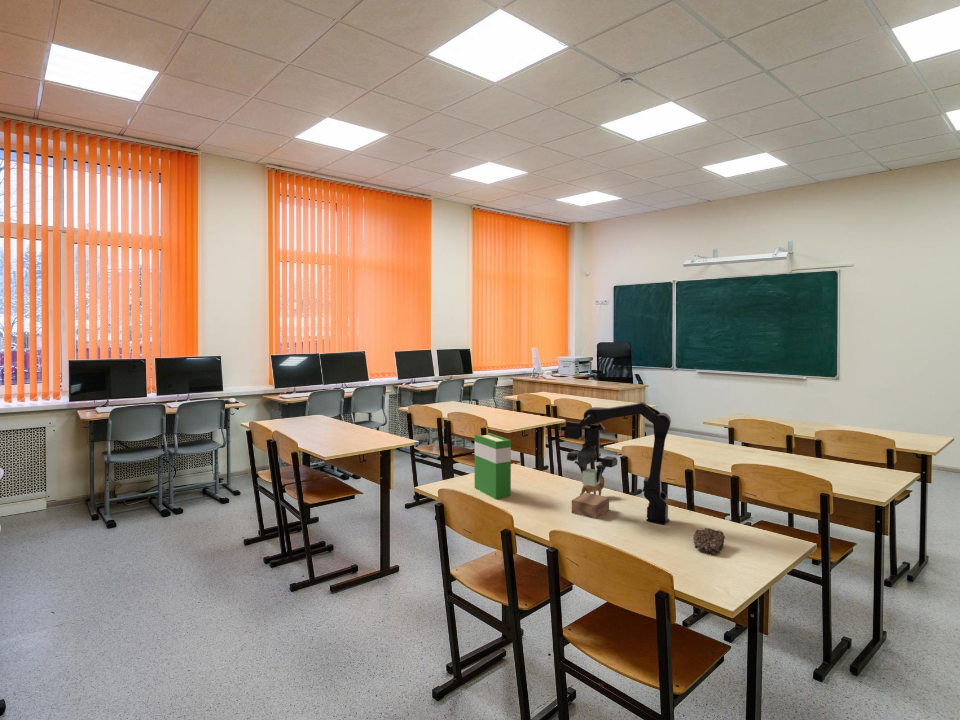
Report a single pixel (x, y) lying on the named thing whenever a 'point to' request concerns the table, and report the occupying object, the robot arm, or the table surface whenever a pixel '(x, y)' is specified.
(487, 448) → the hardback book
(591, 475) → the sage cube
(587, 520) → the table surface
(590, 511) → the walnut block
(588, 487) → the lion figurine
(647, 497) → the robot arm
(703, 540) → the brown rock
